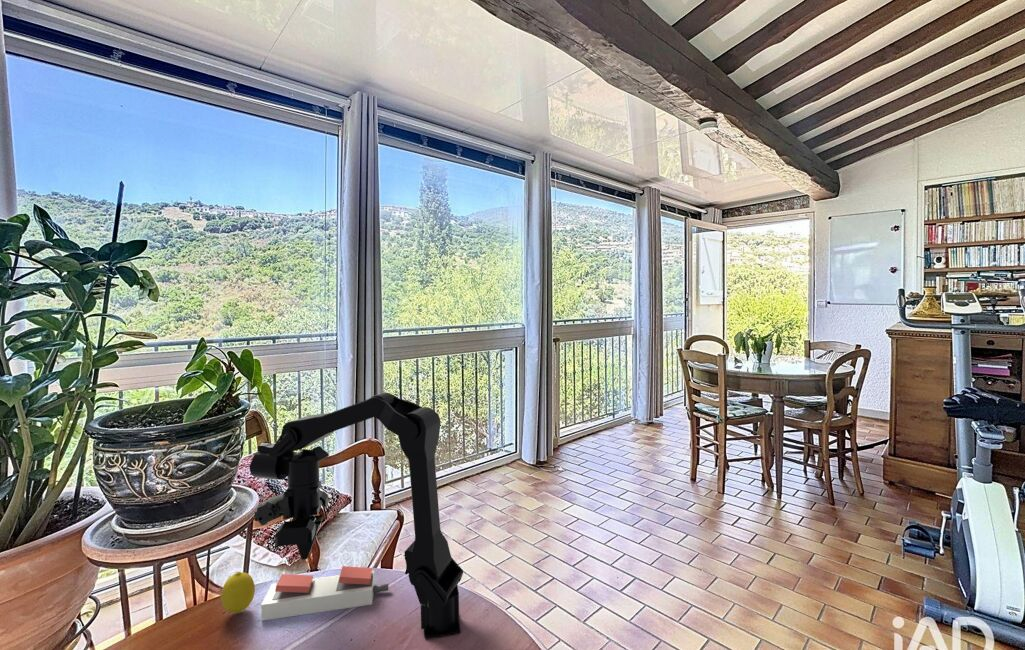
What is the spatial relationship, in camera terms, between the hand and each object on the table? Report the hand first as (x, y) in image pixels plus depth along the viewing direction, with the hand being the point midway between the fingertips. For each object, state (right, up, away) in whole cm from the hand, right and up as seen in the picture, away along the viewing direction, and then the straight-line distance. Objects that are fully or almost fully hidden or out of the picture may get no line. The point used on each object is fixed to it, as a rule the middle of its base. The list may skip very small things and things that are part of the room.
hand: (305, 558), depth 91 cm
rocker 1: (-2, -5, 0) cm, 6 cm away
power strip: (+4, -9, +1) cm, 10 cm away
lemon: (-12, -9, -3) cm, 15 cm away
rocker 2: (+9, -5, +2) cm, 11 cm away
